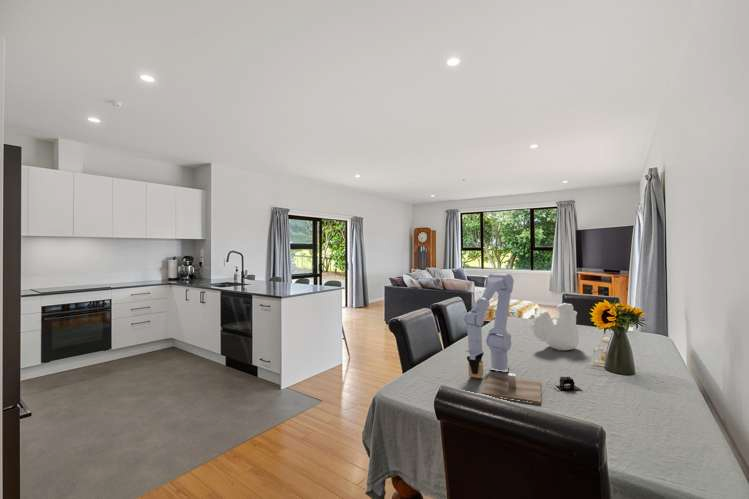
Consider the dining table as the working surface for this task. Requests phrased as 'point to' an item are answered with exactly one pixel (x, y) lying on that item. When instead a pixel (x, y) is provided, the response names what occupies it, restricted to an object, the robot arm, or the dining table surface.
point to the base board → (513, 389)
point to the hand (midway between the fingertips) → (476, 371)
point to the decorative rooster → (557, 328)
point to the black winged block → (565, 387)
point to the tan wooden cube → (480, 370)
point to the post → (512, 380)
